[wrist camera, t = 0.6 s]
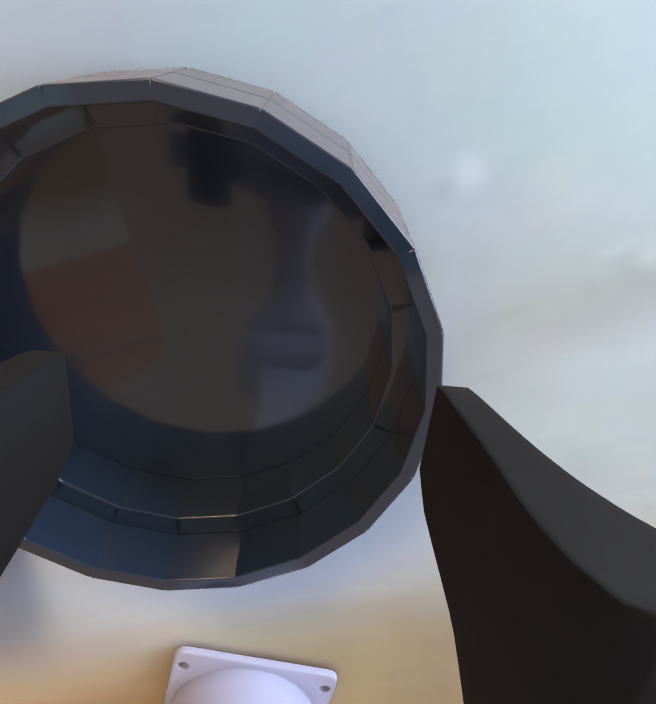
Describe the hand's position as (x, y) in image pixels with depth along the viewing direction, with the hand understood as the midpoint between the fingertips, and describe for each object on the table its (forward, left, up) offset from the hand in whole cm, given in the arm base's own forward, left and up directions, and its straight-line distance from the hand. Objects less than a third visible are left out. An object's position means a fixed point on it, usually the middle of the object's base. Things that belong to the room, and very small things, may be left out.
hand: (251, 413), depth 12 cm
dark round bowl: (-3, +3, -10) cm, 11 cm away
